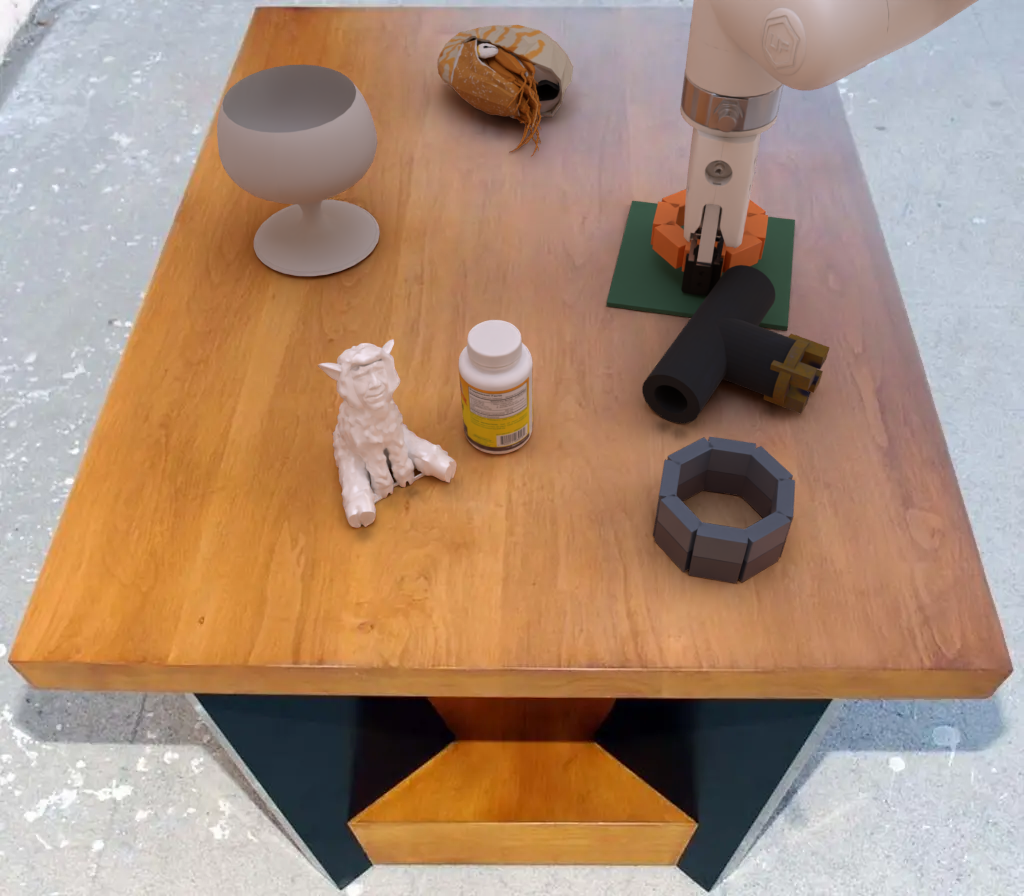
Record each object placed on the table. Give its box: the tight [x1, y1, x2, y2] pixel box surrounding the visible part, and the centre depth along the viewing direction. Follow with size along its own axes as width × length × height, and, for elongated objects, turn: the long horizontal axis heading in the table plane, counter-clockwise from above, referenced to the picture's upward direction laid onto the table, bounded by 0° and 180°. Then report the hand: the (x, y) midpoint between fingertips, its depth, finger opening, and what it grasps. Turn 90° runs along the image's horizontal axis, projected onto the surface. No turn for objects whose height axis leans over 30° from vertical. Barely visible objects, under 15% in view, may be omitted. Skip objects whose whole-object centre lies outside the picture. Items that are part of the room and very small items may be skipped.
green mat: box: [605, 200, 796, 331], centre depth 94 cm, size 16×16×1 cm
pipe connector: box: [641, 265, 830, 425], centre depth 82 cm, size 12×5×15 cm
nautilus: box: [436, 24, 574, 158], centre depth 110 cm, size 8×22×15 cm
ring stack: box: [652, 436, 796, 584], centre depth 72 cm, size 9×9×5 cm
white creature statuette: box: [317, 338, 458, 529], centre depth 74 cm, size 10×9×12 cm
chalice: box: [216, 64, 381, 277], centre depth 92 cm, size 14×14×15 cm
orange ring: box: [651, 188, 769, 277], centre depth 92 cm, size 10×10×2 cm
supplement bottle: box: [458, 319, 534, 455], centre depth 77 cm, size 6×6×10 cm
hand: (700, 281), depth 91 cm, fingers closed on orange ring, 2 cm apart
